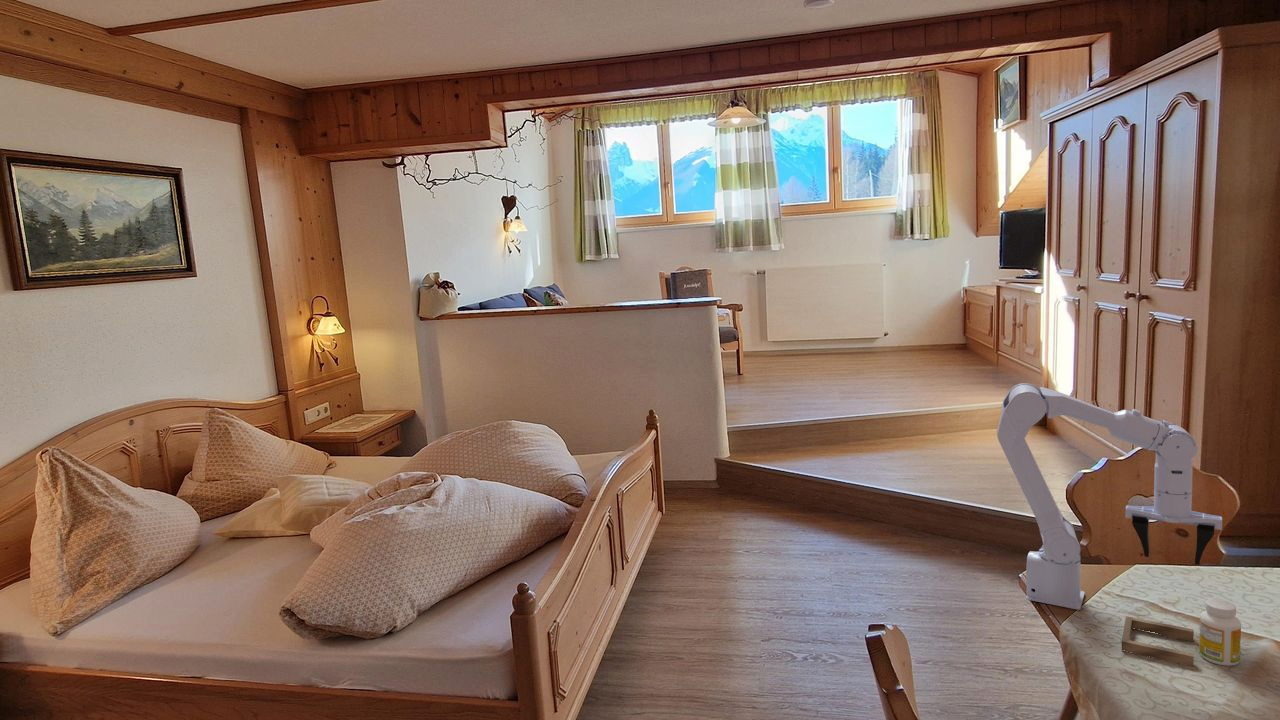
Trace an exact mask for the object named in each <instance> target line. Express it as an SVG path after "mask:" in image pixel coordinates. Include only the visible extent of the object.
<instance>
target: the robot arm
mask: <svg viewBox="0 0 1280 720" xmlns="http://www.w3.org/2000/svg"><path fill="white" fill-rule="evenodd" d="M1045 414H1046V417H1047V419H1048V420H1049V419H1053V418H1057V417H1060V416H1066V417H1070V418H1073V419H1077V420H1080V421H1083V422H1085V423H1089V424H1093V425H1095V426H1099V427H1101V428H1105V429H1107V430H1108V432H1109V434H1110V436H1111V437H1112V438H1113V439H1117V440H1119V441H1121V442H1124V443H1127V444H1131V445H1133V446H1136V447H1139V448H1142V449H1145V450H1147V451H1155V463H1154V470H1153V471H1154V473H1153V474H1154V482H1153V485H1154V486H1153V505H1152V506H1151V505H1149V506H1148V505H1147V506H1146V505H1145V506H1143V505H1142V506H1140V505H1128V504H1127V505H1126V506H1125V518H1126V519H1132V520H1131V521H1132V522H1131V524H1132V527H1133V528H1134V530H1135V532H1136V534H1137V536H1138V538H1139V541H1140V543H1141V546H1142V550H1143V554H1144V555H1143V556H1144V557H1146V558H1149V557H1150V541H1149V525H1150V524H1149V521H1159V522H1166V523H1171V524H1182V525H1189V526H1196V543H1195V544H1196V545H1195V554H1194V565H1198V566H1199V565H1200V563H1201V559H1202V556H1203V554H1204V551H1205V549H1206V547H1207V545H1208V544H1209V543H1210V541H1211V540H1212V539H1213V537H1214V535H1215V530H1220V531H1222V530H1223V517H1222V516H1220V515H1215V514H1214V515H1213V514H1208V513H1204V512H1198V511H1195V510H1194V511H1193V509H1192V507H1193V506H1192V505H1193V501H1192V500H1193V470H1194V469H1193V459H1194V458H1195V456H1196V455H1197V453H1198V451H1199V447H1198V446H1197V442H1196V440H1195V439H1194V437H1193V436H1192V435H1191V434H1190V433H1189V432H1188V431H1187V430H1186V429H1185V428H1183V427H1181V426H1180V425H1177V424H1176V423H1174V422H1169V421H1167V420H1164V419H1162V420H1161V421H1159V420H1156V419H1153V418H1150V417H1149V416H1148V417H1147V416H1145V415H1142V412H1141V411H1140V410H1139V409H1135V408H1132V410H1131V411H1130V410H1129V409H1128V410H1127V409H1121V410H1119V411H1115V412H1112V411H1110V410H1108V409H1105V408H1102V407H1099V406H1097V405H1094V404H1092V403H1088V402H1086V401H1083V400H1081V399H1079V398H1076V397H1074V396H1070V395H1068V394H1065V393H1063V392H1059V391H1056V390H1054V389H1050V388H1048V387H1043V386H1039V388H1038V387H1037V385H1034V384H1032V383H1027V382H1025V383H1018V384H1015V385H1014V386H1012V387H1011V389H1010V390H1009V391H1008V393H1007V394H1006V396H1005V397H1004V399H1003V400H1002V406H1001V412H1000V416H999V420H998V421H999V422H998V424H997V429H996V436H997V441H998V443H999V444H1000V446H1001V449H1002V451H1003V452H1004V455H1005V458H1006V459H1007V461H1008V464H1009V465H1010V467H1011V469H1012V471H1013V474H1014V475H1015V477H1016V480H1017V482H1018V484H1019V486H1020V489H1021V490H1022V493H1023V495H1024V497H1025V499H1026V500H1027V503H1028V505H1029V507H1030V509H1031V511H1032V513H1033V515H1034V518H1035V520H1036V522H1037V525H1038V528H1039V534H1040V537H1041V539H1042V546H1041V547H1040V548H1039V550H1038V551H1032V550H1031V551H1029V552H1028V553H1027V556H1026V564H1025V565H1026V567H1025V568H1026V575H1025V576H1026V577H1025V578H1026V583H1025V584H1026V585H1025V586H1026V596H1025V599H1026V600H1027V601H1028V600H1029V601H1033V602H1038V603H1042V604H1048V605H1052V606H1059V607H1062V608H1066V609H1067V608H1068V609H1071V610H1072V609H1073V610H1077V611H1079V610H1081V608H1082V604H1083V601H1084V597H1085V594H1086V592H1085V591H1083V590H1081V551H1082V550H1081V544H1080V542H1079V541H1078V538H1077V535H1076V530H1075V527H1074V525H1073V524H1072V522H1070V521H1069V520H1068V519H1067V518H1066V517H1064V516H1063V514H1062V512H1061V509H1060V508H1059V506H1058V504H1057V503H1056V500H1055V499H1054V496H1053V495H1052V492H1051V490H1050V488H1049V486H1048V485H1047V484H1048V483H1047V482H1046V480H1045V478H1044V475H1043V474H1042V472H1041V471H1042V470H1041V469H1040V468H1039V465H1038V463H1037V461H1036V459H1035V457H1034V455H1033V453H1032V451H1031V449H1030V446H1029V444H1028V442H1027V440H1026V437H1027V435H1028V434H1029V432H1030V430H1031V428H1032V427H1033V426H1034V425H1036V424H1037V423H1038V422H1040V420H1042V419H1043V417H1044V416H1045Z"/></svg>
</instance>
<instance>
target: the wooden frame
mask: <svg viewBox="0 0 1280 720" xmlns="http://www.w3.org/2000/svg"><path fill="white" fill-rule="evenodd" d="M1132 628H1135V629H1140V630H1144V631H1150V632H1155V633H1158V634H1157V635H1159V634H1161V635H1160V636H1164V635H1165V637H1169V636H1170V637H1169V638H1174V639H1180V640H1185V641H1189V642H1195V641H1194V639H1195V637H1194V636H1195V635H1194V634H1195V632H1194V631H1195V629H1193V628H1188V627H1183V626H1177V625H1172V624H1168V623H1162V622H1157V621H1152V620H1146V619H1143V618H1142V619H1141V618H1138V617H1137V618H1136V617H1133V616H1132V617H1131V616H1126V615H1125V618H1124V625H1123V631H1122V637H1121V650H1125V651H1128V652H1127V653H1129V652H1132V653H1131V654H1134V653H1135V655H1138V654H1139V656H1143V657H1147V656H1148V658H1152V657H1153V659H1157V660H1163V661H1167V662H1171V663H1175V664H1180V665H1184V666H1187V667H1194V664H1195V663H1194V661H1195V660H1194V658H1195V655H1194V653H1192V652H1187V651H1183V650H1178V649H1177V650H1176V649H1173V648H1168V647H1164V646H1158V645H1154V644H1150V643H1145V642H1140V641H1134V640H1131V638H1130V637H1131V636H1132V631H1131V630H1133V629H1132ZM1144 631H1143V632H1144ZM1125 651H1124V652H1125ZM1149 656H1150V657H1149Z"/></svg>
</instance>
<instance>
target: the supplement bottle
mask: <svg viewBox="0 0 1280 720" xmlns="http://www.w3.org/2000/svg"><path fill="white" fill-rule="evenodd" d="M1204 608H1205V610H1203V611H1202V612H1201V613H1200V615H1199V642H1198V643H1199V644H1198V649H1199V650H1198V651H1199V652H1198V653H1199V655H1200V656H1201V657H1202V658H1203V659H1204V660H1206V661H1208V662H1210V663H1213V664H1215V665H1220V666H1226V667H1230V666H1236V665H1238V664H1239V663H1240V661H1241V642H1242V641H1241V639H1242V637H1241V635H1242V622H1241V621H1240V619H1239V618H1238V617H1237V616H1236V615H1237V606H1236V604H1234V603H1233V602H1231V601H1228V600H1225V599H1220V598H1210V599H1206V601H1205V606H1204Z"/></svg>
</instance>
